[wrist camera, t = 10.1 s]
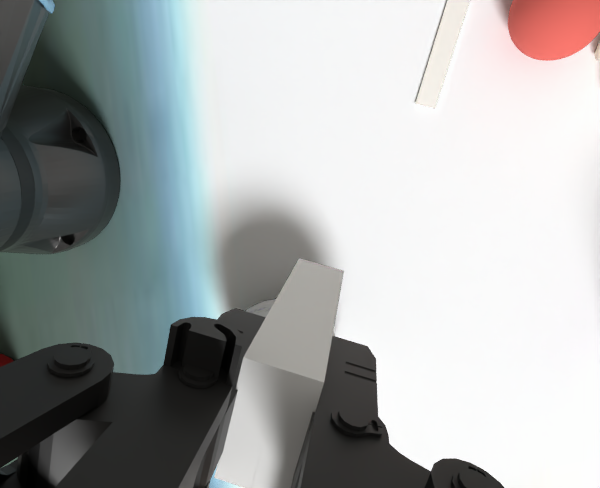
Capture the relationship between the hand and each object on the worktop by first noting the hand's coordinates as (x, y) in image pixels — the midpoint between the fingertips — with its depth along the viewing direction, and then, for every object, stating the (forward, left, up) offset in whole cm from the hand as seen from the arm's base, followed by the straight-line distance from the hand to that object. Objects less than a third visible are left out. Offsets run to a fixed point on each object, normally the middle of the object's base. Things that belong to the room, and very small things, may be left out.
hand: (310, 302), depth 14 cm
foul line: (+4, +16, -24) cm, 29 cm away
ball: (+10, +16, -21) cm, 29 cm away
